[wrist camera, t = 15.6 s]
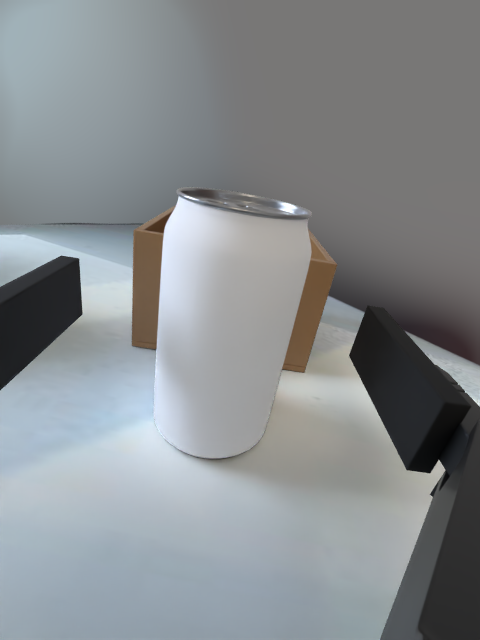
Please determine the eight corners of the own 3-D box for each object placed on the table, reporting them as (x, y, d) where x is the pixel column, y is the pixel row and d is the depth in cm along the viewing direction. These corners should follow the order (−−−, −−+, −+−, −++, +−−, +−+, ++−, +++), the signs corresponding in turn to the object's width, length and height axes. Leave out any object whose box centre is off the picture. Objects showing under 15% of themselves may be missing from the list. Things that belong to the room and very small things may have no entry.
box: (304, 372, 24) (337, 264, 21) (131, 346, 24) (133, 229, 20) (288, 307, 35) (308, 228, 31) (169, 288, 35) (174, 205, 31)
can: (284, 453, 17) (355, 224, 12) (160, 475, 15) (181, 204, 10) (243, 378, 23) (280, 197, 17) (147, 386, 20) (156, 179, 15)
